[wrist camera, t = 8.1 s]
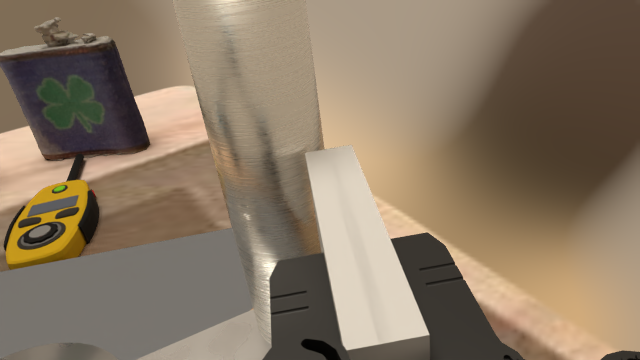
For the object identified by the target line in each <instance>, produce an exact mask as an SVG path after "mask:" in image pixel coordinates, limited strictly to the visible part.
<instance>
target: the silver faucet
mask: <svg viewBox="0 0 640 360" xmlns="http://www.w3.org/2000/svg"><path fill="white" fill-rule="evenodd" d="M172 1H173V5H174V9H175V13H176V16H177V20H178V24H179V27H180V31H181V35H182V39H183V43H184V47H185V50H186V54H187V58H188V62H189V65H190V69H191V73H192V77H193V81H194V85H195V89H196V92H197V96H198V100H199V104H200V108H201V111H202V115H203V119H204V123H205V127H206V130H207V134H208V138H209V142H210V146H211V150H212V153H213V157H214V161H215V165H216V169H217V172H218V176H219V180H220V184H221V188H222V191H223V195H224V199H225V203H226V207H227V210H228V214H229V218H230V222H231V226H232V229H233V233H234V237H235V241H236V245H237V248H238V252H239V256H240V260H241V264H242V267H243V271H244V275H245V279H246V283H247V286H248V290H249V294H250V298H251V302H252V305H253V309H252V310H250V311H248V312H245V313H243V314H241V315H238V316H236V317H234V318H231V319H229V320H227V321H224V322H222V323H220V324H217V325H215V326H213V327H210V328H208V329H206V330H204V331H201V332H199V333H197V334H194V335H192V336H190V337H187V338H185V339H183V340H180V341H178V342H176V343H173V344H171V345H169V346H166V347H164V348H162V349H159V350H157V351H155V352H153V353H150V354H148V355H146V356H143V357H141V358H139V359H136V360H262V359H263V358H264V357H265V355H266V354H267V352H268V351H269V350H270V348H272V346H271V314H270V288H269V278H270V276H271V274H272V272H273V270H274V268H275V266H276V264H277V262H278V261H279V260H284V259H290V258H295V257H301V256H307V255H312V254H318V253H322V252H321V247H320V242H319V237H318V231H317V225H316V219H315V213H314V206H313V200H312V194H311V188H310V182H309V176H308V170H307V164H306V157H305V153H307V152H313V151H319V150H324V142H323V134H322V126H321V118H320V110H319V103H318V95H317V87H316V79H315V71H314V63H313V55H312V48H311V40H310V32H309V25H308V16H307V8H306V0H172ZM0 360H118V359H117V358H116V357H115V356H113V355H112V354H111V353H109V352H107V351H106V350H104V349H102V348H99V347H96V346H93V345H89V344H83V343H68V342H65V343H53V344H47V345H42V346H37V347H33V348H29V349H26V350H22V351H19V352H16V353H14V354H11V355H8V356H5V357H3V358H1V359H0Z"/></svg>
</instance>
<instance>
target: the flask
mask: <svg viewBox="0 0 640 360" xmlns="http://www.w3.org/2000/svg"><path fill="white" fill-rule="evenodd" d="M59 21H61V20H60V18H55V19H53V20H51V21H46V22H45V23H43V24H42V25H40V26H35V27H34V28H35V30H36V31H37V32H39V33H43V36H42V38H43V40H44V42H46V44H44V45H35V46H25V47H21V48H17V49H13V50H12V49H11V50H6V51H4V52H2V53H1V54H0V66H1V68H2V70H3V71H4V73H5V75H6V77H7V78H8V80H9V83H10V85H11V87H12V89H13V91H14V93H15V95H16V97H17V100H18V102H19V104H20V106H21V108H22V111H23V113H24V115H25V117H26V119H27V121H28V123H29V126H30V128H31V130H32V132H33V135H34V137H35V139H36V142H37V144H38V147H39V149H40V151H41V153H42V155H43V156H44V158H45V159H51V160H63V158H76V155H77V154H83V156H84V158H87V157H94V156H97V155H101V154H104V156H106V155H110V154H118V155H119V154H122V153H129V154H133V153H135V152H136V153H137V152H139V151H143V150H146V149H147V148H148V147H149V145H150V142H149V138H148V135H147V132H146V128H145V126H144V122H143V120H142V117H141V115H140V112H139V109H138V107H137V104H136V102H135V99H134V96H133V93H132V90H131V88H130V85H129V82H128V79H127V76H126V74H125V71H124V67H123V64H122V61H121V58H120V55H119V52H118V49H117V47H116V44H115V42H114V41H113V40H112V39H111V38H110V37H107V36H104V37H99V38H96V36H95V35H94V34H92V33H90V34H83V35H88V36H89V37H82V38H81V39H80V40H75V41H73V40H74V39H75V38H77V37H78V35H73V34H72V33H70V32H68V31H59V30H58V29H57V28H58V24H57V23H58V22H59Z"/></svg>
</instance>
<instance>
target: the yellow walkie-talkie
mask: <svg viewBox="0 0 640 360" xmlns="http://www.w3.org/2000/svg"><path fill="white" fill-rule="evenodd" d="M83 159H84V156H83V154H77V155H76V158H75V160H74V163H73V166H72V168H71V171H70V173H69V176H68V179H67V181H66V182H63V183H58V184H55V185H51V186H48V187H46V188H43V189H42V190H41V191H40V192H38V193H37V194H36V195H35V197H34V198H33V199H32V200H31V201H30V202H29V203H28V205H27V206H26V207H25V206H23V207H22V208H21V209H20V211H19V212H18V213H17V215H16V216H15V218H14V219H13V221H12V222H11V224H10V226H9V229H8V231H7V234H6V237H5V241H4V248H5V251H6V261H7V264H8V267H9V268H10V270H13V269H18V268H24V267H29V266H34V265H40V264H45V263H50V262H55V261H61V260H66V259H71V258H76V257H78V256H79V255H80V253H81V252H82V250H83V248H84V246H85V245H86V243H87V244H88V243H89V242H90V240H91V238H92V236H93V234H94V232H95V229H96V227H97V223H98V217H99V209H98V204H97V202H96V199H95V197H96V196H95V194H94V191H93V190H90V189H89V186H88V185H87V183H86V181H84V180H76V179H77V176H78V173H79V170H80V168H81V165H82V162H83Z"/></svg>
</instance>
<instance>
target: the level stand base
mask: <svg viewBox="0 0 640 360" xmlns="http://www.w3.org/2000/svg"><path fill="white" fill-rule="evenodd" d="M252 309H253V305H252V302H251V298H250V294H249V290H248V286H247V283H246V279H245V275H244V271H243V267H242V264H241V260H240V256H239V252H238V248H237V245H236V241H235V237H234V233H233V229H232V228H230V229H224V230H219V231H214V232H208V233H203V234H198V235H193V236H187V237H182V238H177V239H171V240H166V241H161V242H156V243H150V244H145V245H140V246H135V247H129V248H124V249H119V250H113V251H108V252H103V253H98V254H92V255H87V256H82V257H76V258H71V259H66V260H61V261H55V262H50V263H45V264H40V265H34V266H29V267H24V268H18V269H13V270H8V271H3V272H0V359H1V358H3V357H5V356H8V355H11V354H14V353H16V352H19V351H22V350H26V349H29V348H33V347H37V346H42V345H47V344H53V343H65V342H68V343H83V344H89V345H93V346H96V347H99V348H102V349H104V350H106V351H107V352H109V353H111V354H112V355H113V356H115V357H116V358H117V359H118V360H136V359H139V358H141V357H143V356H146V355H148V354H150V353H153V352H155V351H157V350H159V349H162V348H164V347H166V346H169V345H171V344H173V343H176V342H178V341H180V340H183V339H185V338H187V337H190V336H192V335H194V334H197V333H199V332H201V331H204V330H206V329H208V328H210V327H213V326H215V325H217V324H220V323H222V322H224V321H227V320H229V319H231V318H234V317H236V316H238V315H241V314H243V313H245V312H248V311H250V310H252Z"/></svg>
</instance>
